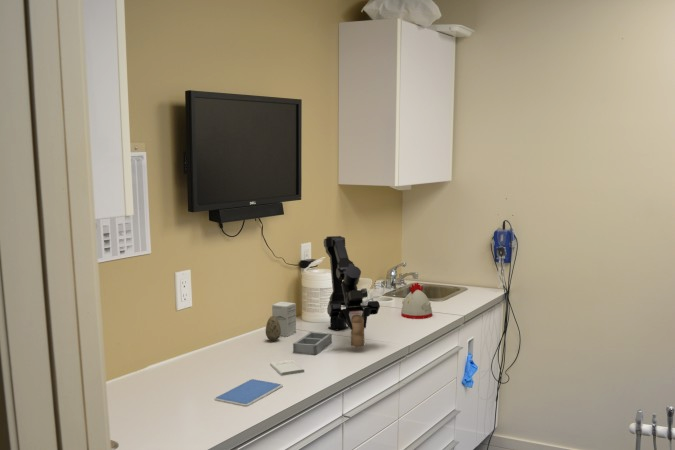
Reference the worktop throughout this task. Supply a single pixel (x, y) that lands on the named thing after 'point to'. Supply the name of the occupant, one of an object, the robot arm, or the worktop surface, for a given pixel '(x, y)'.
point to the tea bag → (355, 312)
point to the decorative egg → (273, 329)
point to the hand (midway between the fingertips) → (358, 328)
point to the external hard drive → (286, 367)
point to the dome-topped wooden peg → (357, 331)
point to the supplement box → (285, 317)
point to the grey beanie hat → (416, 304)
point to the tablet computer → (248, 392)
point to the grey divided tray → (312, 343)
